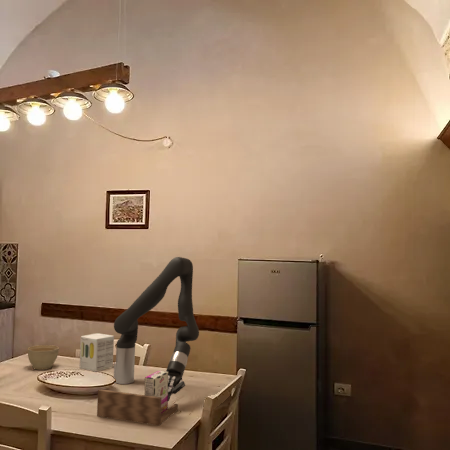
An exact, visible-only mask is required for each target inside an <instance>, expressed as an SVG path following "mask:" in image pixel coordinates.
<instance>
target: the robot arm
mask: <svg viewBox="0 0 450 450" xmlns="http://www.w3.org/2000/svg"><path fill="white" fill-rule="evenodd" d="M193 269H194V265H193V263H192V261H191V260H190V259H189V258H185V257H182V256H175V257H173V258H171V260H170V261H169V262H168V263H167V264H166V266H165V267H164V268H163V270H162V271H161V273H160V274H159V275H158V276H157V277H156V278H155V279H154V280H153V281H152V282H151V283H150V284H149V285H148V286H147V287H146V288H145V289H144V291H142V292H141V294H140V295H139V296H138V297H137V298H136V299H135V300H134V301H133V302H132V304H131V305H129V307H128V308H127V309H126V310H124V311H123V312H122V313H121V314H120V315H118V316H117V317H116V318H115V320H114V324H113V329H114V331H115V332H116V333H117V334H119V335H120V337H119V339H118V340H117V341H116V343H115V344H116V350H115V362H113V379H114V378H115V379H116V382H115V384H120V385H126V384H127V385H129V384H133V383H134V382H135V363H136V362H135V360H136V359H135V357H136V343H137V340H138V333H139V332H138V331H139V321H138V319H140V317H142V316H143V315H145V314H147V313H148V312H150V311H151V310H152V309H154V308H155V307H157V305H158V304H159V303H160V302H162V300H163V299H164V297H165V295H166V293H167V291H168V287H169V286H170V285H171V283H173V281H174V280H175V279H177V278H179V279H180V291H179V294H178V298H177V312H178V313H177V314H178V320H179V321H181V322H185V323H186V324H187V325H185V326H180V327H179V328H178V329H177V330H176V333H175V346H174V350H173V352H172V354H171V356H170V359H169V362H168V365H167V367H166V369H165V371H166V372H168V402H170V400H171V396H172V395H176V394H177V393H179V392H180V391H181V390H183V388H185V386H186V383H185V381H184V380H183V376H184V373H185V370H186V367H187V363H188V359H189V356H190V352H191V350H192V348H191V345H190V344H189V343H188V342H192V341H197V340H198V338H199V336H200V329H199V327H198V324H197V321H196V318H195V316H194V305H193V278H194V277H193V275H194V270H193Z"/></svg>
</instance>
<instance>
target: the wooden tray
mask: <svg viewBox="0 0 450 450" xmlns="http://www.w3.org/2000/svg"><path fill="white" fill-rule="evenodd" d="M96 407H97V408H96V409H97V410H96V417H100V416H102V417H103V418H107V417H108V418H109V419H114V418H115V419H114V420H121V421H126V422H132V423H133V422H134V423H141V424H146V425H147V423H148V425H154V426H160V425H161V424H163V423H164V422H165V421H166V420H167V418H168V417H169V418H170V417H171V416H173V413H174V414H175V413H176V412H178V410H179V403H173V404H172V405H171V406H169V407H168V409H167V410H166V411H164V412H163V413H162V414H161V397H154V396H147V395H145V394H138V393H129V392H122V391H116V390H108V389H98V390H97V406H96ZM102 417H101V418H102ZM162 422H163V423H162Z"/></svg>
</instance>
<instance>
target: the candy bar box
mask: <svg viewBox="0 0 450 450" xmlns="http://www.w3.org/2000/svg"><path fill="white" fill-rule="evenodd" d="M144 395H147V396H154V397H161V414H162V413H163V412H164V411H166V410H167V409H168V408H169V404H168V403H169V401H168V372H166V370H165V371H164V370H157V371H155V372H153V373H151V374H149V375H147V376H145V377H144Z"/></svg>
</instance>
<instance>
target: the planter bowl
mask: <svg viewBox="0 0 450 450" xmlns="http://www.w3.org/2000/svg"><path fill="white" fill-rule="evenodd" d="M59 350H60V347H59V346H57V345H54V344H53V345H52V344H51V345H50V344H48V345H47V344H42V345H41V344H40V345H33V346H29V347H28V348H27V358H28V361H29V364H30V365H31V366H32V369H34V370H40V371H43V370H49V369H52V367H53V364H54V363H55V362H56V361H57V358H58V355H59Z"/></svg>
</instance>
